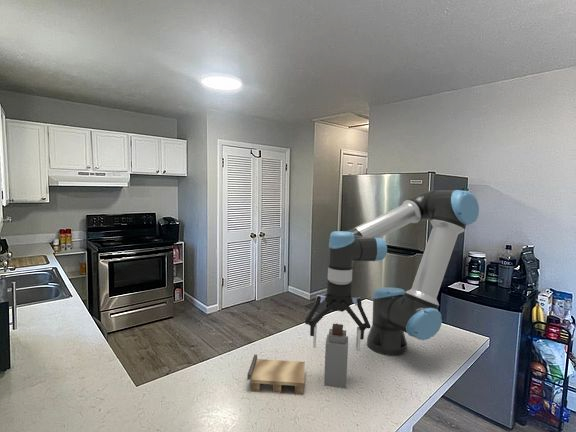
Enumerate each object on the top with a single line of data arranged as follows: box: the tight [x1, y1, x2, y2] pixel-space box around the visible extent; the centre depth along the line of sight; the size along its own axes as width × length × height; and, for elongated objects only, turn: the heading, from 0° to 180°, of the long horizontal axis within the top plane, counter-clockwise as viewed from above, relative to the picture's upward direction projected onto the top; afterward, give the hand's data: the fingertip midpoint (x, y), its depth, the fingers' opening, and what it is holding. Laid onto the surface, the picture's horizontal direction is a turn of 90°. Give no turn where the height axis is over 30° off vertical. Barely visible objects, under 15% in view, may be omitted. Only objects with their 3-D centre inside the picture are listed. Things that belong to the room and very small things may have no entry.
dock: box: [247, 354, 306, 395], centre depth 102 cm, size 17×12×5 cm
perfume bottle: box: [323, 323, 349, 390], centre depth 102 cm, size 7×7×18 cm
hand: (336, 347), depth 102 cm, fingers open, 13 cm apart
